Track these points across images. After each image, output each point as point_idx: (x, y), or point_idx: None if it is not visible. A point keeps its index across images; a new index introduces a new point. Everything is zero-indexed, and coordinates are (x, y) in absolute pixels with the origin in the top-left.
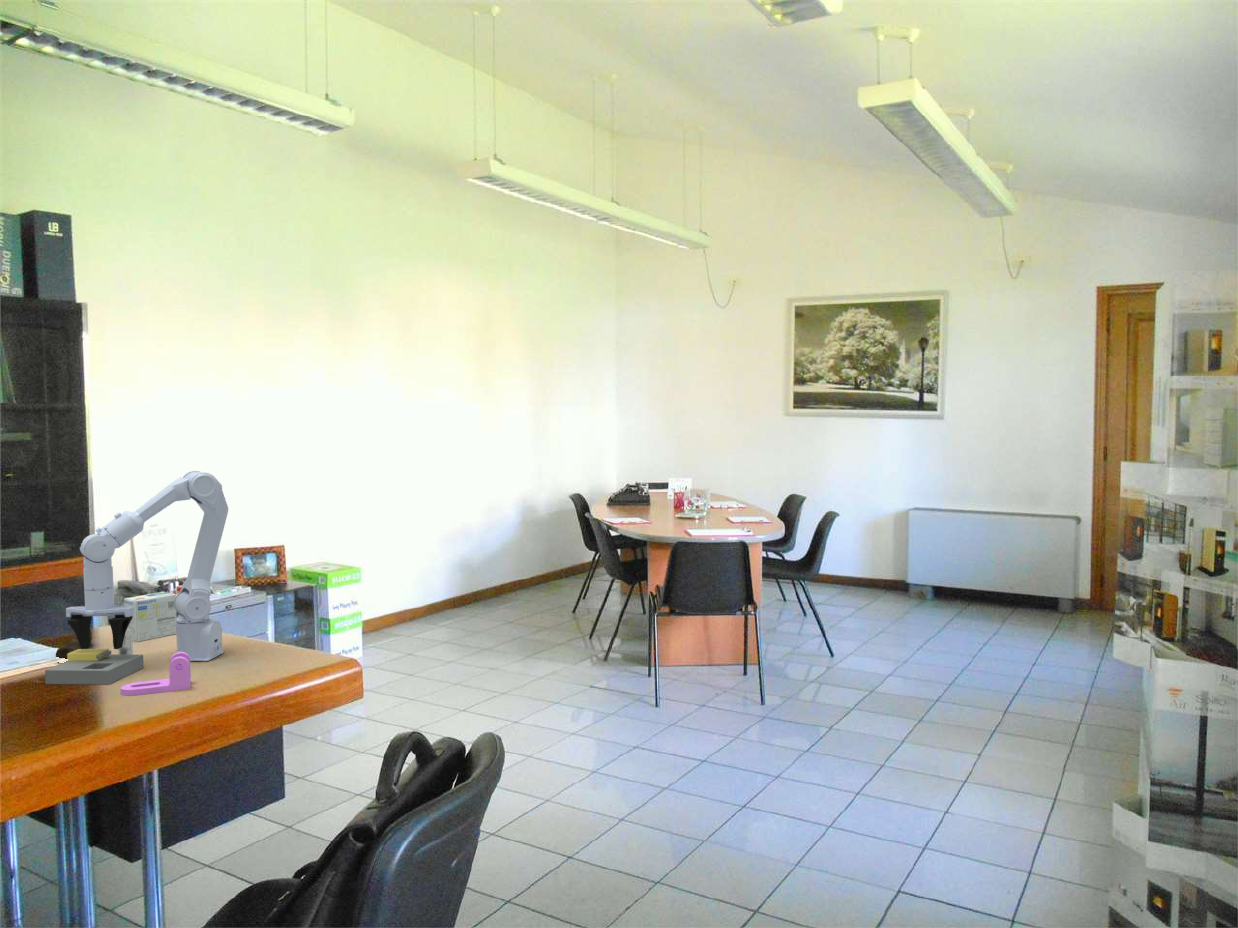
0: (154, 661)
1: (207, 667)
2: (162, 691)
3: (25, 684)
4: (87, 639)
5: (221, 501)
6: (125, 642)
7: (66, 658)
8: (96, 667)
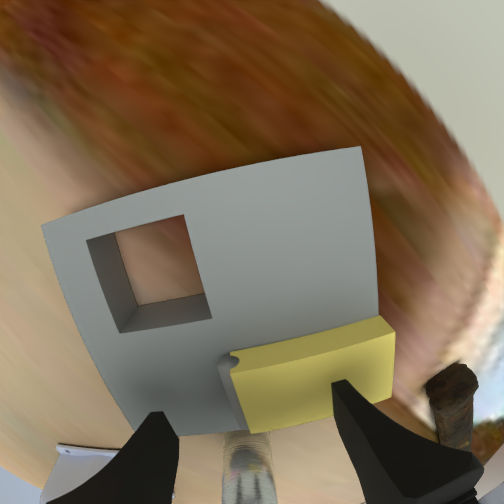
0: (181, 449)
1: (16, 405)
2: None
3: (407, 135)
4: (345, 436)
5: None
6: (228, 479)
7: (443, 381)
8: (204, 309)
